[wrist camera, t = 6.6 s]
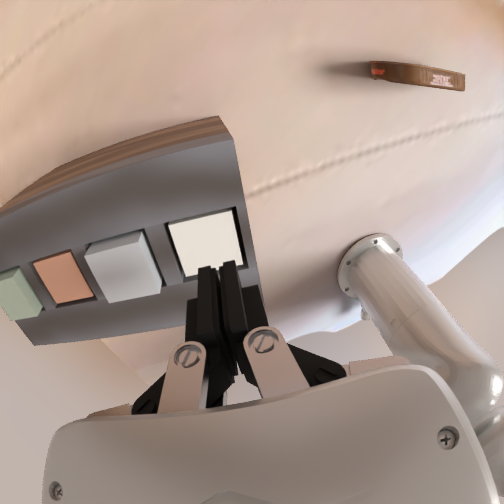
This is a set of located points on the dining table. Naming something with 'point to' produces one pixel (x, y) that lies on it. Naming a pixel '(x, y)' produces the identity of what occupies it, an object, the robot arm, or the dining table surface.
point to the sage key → (18, 295)
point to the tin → (417, 75)
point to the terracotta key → (63, 277)
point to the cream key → (206, 240)
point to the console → (125, 225)
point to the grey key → (125, 266)
